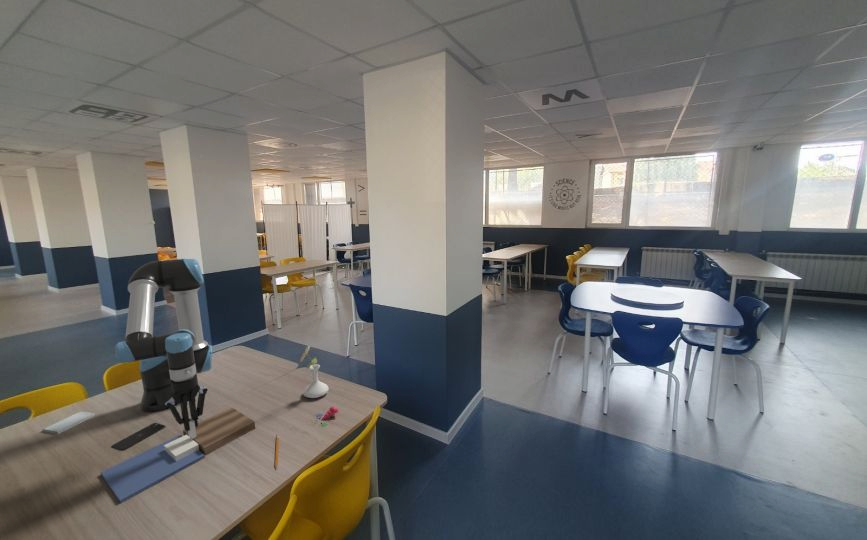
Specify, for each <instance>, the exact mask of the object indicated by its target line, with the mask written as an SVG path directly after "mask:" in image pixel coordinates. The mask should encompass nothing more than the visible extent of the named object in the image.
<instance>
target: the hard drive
mask: <svg viewBox="0 0 867 540" xmlns="http://www.w3.org/2000/svg"><path fill="white" fill-rule="evenodd" d="M94 416H96V413H94V412H88V411H78V412H77V413H74V414H72V415H70V416H68V417H65V418H63V419H61V420H59V421H57V422H55V423H54V424H50V425H49V426H46V427H45V428H43V429H42V430H41V431H42V433H43V432H44V433H48V434H49V433H50V434H55V435H59V434H61V433H63V432H65V431H67V430H69V429H71V428H74V427H75V426H77V425H79V424H80V423H83V422H85V421H86V420H88V419H91V418H93V417H94Z"/></svg>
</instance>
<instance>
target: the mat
mask: <svg viewBox="0 0 867 540" xmlns="http://www.w3.org/2000/svg"><path fill="white" fill-rule="evenodd" d="M182 436H183V435H182V434H179V435H177V436H175V437H173V438H171V439H168V440H166V441H164V442H162V443H160V444H158V445H156V446H153V447H151V448H149V449H148V450H145V451H143V452H140V453H139V454H136V455H135V456H132V457H130V458H128V459H125V460H124V461H122V462H119V463H118V464H117V463H116V465H112V466H111V467H108V468H107V469H105V470H102V471H101V472H100V474H101V476H102V478H103V479H104V481H105V483H107V485H108V487H109V488H110V489H111V491H112V493H113V494H114V495H115V496H116V497H115V498H116V499H117V500H118V501H119V503H120V504H122V503H124V502H126V501H127V500H129V499H130V500H131V499H132V498H134V497H135V496H137V495H139V494H140V493H143V492H144V491H146V490H148V489H150V488H151V487H154V486H155V485H157V484H159V483H161V482H162V481H165V480H166V479H168V478H170V477H171V476H173V475H176V474H178V473H179V472H181V471H183V470H184V469H187V468H189V467H190V466H192V465H193V464H195V463H198V462H199V461H202V460H204V459H205V458H206V455H204V454H203V453H202V452H201V451H199V450H197V451H195V452H193V453H191V454H190V455H188V456H186V457H184V458H182V459H180V460H178V461H175V460H174V459H173V458H172V457H171V456H170V455H169V454H168V453H167V452H166V451H165V449H164V445H166V444H168V443H170V442H172V441H174V440H176V439H178V438H180V437H182Z"/></svg>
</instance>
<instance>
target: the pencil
mask: <svg viewBox="0 0 867 540" xmlns="http://www.w3.org/2000/svg"><path fill="white" fill-rule="evenodd" d="M279 442H280V435H279V434H276V437H275V452H274V453H275V454H274V468H275V470H277V469H278V467H277V466H279V446H280V445H279Z"/></svg>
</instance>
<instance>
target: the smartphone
mask: <svg viewBox="0 0 867 540" xmlns="http://www.w3.org/2000/svg"><path fill="white" fill-rule="evenodd" d="M166 427H167V426H166V425H164V424H160V423H158V422H153V423H151V424H149V425H147V426H145V427H144V428H141V429H140V430H138V431H136V432H134V433H132V434H131V435H129V436H126V437H124V438H123V439H121V440H119V441H117V442H115V443H114V444H112V445H111V448H113V449H115V450H118V451H121V452H123V451H124V452H125V451H127V450H129V449H130V448H132V447H133V446H135V445H137V444H139V443H141V442H143V441H144V440H146V439H148V438H149V437H151V436H153V435H155V434H157V433H158V432H161V431H162V430H164V429H165V428H166Z"/></svg>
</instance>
